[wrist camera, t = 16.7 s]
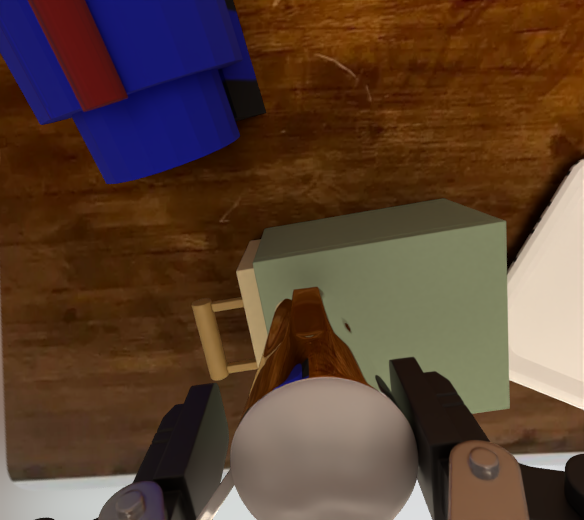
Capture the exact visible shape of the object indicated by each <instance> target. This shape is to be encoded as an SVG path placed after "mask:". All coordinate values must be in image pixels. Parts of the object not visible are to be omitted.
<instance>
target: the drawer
mask: <svg viewBox="0 0 584 520" xmlns="http://www.w3.org/2000/svg"><path fill="white" fill-rule="evenodd" d="M260 241H261V239H258V240H252V241H250V242H249V244H248V247H247V249H246V251H245V253H244V255H243V258H242V260H241V262H240V264H239V266H238V269H237V271H236V273H237V277H238V282H239V286H240V291H241V295H242V297H238V298H232V299H226V300H219V301H213V302H212V301H211V299H210V298H203V299H199V300H196V301H194V302H193V303H192V309H193V312H194V316H195V320H196V324H197V327H198V331H199V335H200V339H201V343H202V346H203V350H204V354H205V358H206V361H207V365H208V369H209V373H210V376H211V379H212V380H221V379H224V378H226V377H227V376H228V375H229V373H234V372H240V371H247V370H254V369H258V367H259V364H260V361H261V358H262V354H263V351H264V347H265V344H266V340H267V337H268V334H267V330H266V325H265V320H264V315H263V311H262V306H261V301H260V296H259V292H258V287H257V282H256V277H255V273H254V268H253V260H254V258H255V255H256V252H257V249H258V247H259V244H260ZM241 307H244V309H245V313H246V318H247V322H248V326H249V331H250V335H251V340H252V344H253V349H254V353H255V358H256V359H249V360H242V361H236V362H229V363H228V364H227V361H226V357H225V353H224V349H223V345H222V341H221V337H220V333H219V329H218V325H217V321H216V317H215V313H214V312H216V311H222V310H228V309H235V308H241Z"/></svg>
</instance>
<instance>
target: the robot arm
mask: <svg viewBox="0 0 584 520" xmlns="http://www.w3.org/2000/svg"><path fill="white" fill-rule="evenodd" d="M389 372H390V383H391V393H392V394H393V396H394V398H395V400H396V401H397V403H398V405H399V406H400V408H401V410H402V412H403V413H404V415H405V417H406V419H407V420H408V422H409V424H410V426H411V428H412V431H413V433H414V436H415V439H416V443H417V449H418V474H417V480H418V482H419V485H420V488H421V490H422V493H423V496H424V498H425V501H426V504H427V506H428V509H429V512H430V514H431V517H432V519H433V520H584V454H579V455H576V456H573V457H572V458H570V459H569V460H568V461H567V463H566V466H565V472H564V471H557V470H550V469H542V468H535V467H530V466H526V465H523V464H520V463H518V462H517V460H516V459H515V457H514V456H513V455H512V454H511V453H510V452H508V451H507V450H506V449H504V448H502V447H501V446H499V445H496V444H494V443H491V442H490V441H489V439H488V438H487V436H486V435H485V433H484V432H483V430H482V429H481V427H480V426H479V424H478V423H477V421H476V420H475V418H474V417H473V415H472V414H471V412H470V411H469V409H468V408H467V406H466V405H464V402H463V400H462V399H461V397H460V396H459V395H458V394H457V391H456V390H455V388H454V387H453V385H452V384H451V382H450V381H449V380H448V379H447V378H445V377H444V376H442V375H441V374H439V373H438V372H436V371H432V372H423V371H422V369H421V367H420V365H419V364H418V362H417V360H416V359H415V357H407V358H399V359H392V360H389ZM228 442H229V432H228V424H227V420H226V416H225V412H224V407H223V403H222V399H221V395H220V390H219V387H218V385H217V383H209V384H202V385H195V386H191V388H190V390H189V393H188V395H187V397H186V400H185V402H184V404H178V405H175V406H174V407H173V408H172V409H171V410H170V411H169V412H168V413H167V414H166V415H165V416H164V417H163V419H162V421H161V424H160V426H159V428H158V430H157V433H156V434H155V436H154V439H153V441H152V444H151V445H150V447H149V449H148V451H147V453H146V456H145V458H144V460H143V462H142V464H141V466H140V468H139V471H138V473H137V475H136V477H135V479H134V481H133V483H132V484H130V485H128V486H126V487H124V488H122V489H121V490H119V491H118V492H116V493H115V494H114V495H113V496H112V497H111V498H110V499H109V500H108V501H107V502H106V504H105V505H104V506H103V508H102V510H101V512H100V514H99V517H98V518H96V519H94V520H196V519H197V517H198V516H199V514H200V513H201V511H202V510H203V508H204V507H205V505H206V504H207V502H208V501H209V499H210V498H211V497H212V495H213V494H214V492H215V491H216V489H217V488H218V486H219V485H220V482H221V478H222V473H223V468H224V463H225V458H226V454H227V449H228ZM35 520H54V519H52V518H39V519H35ZM212 520H213V519H212Z"/></svg>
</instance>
